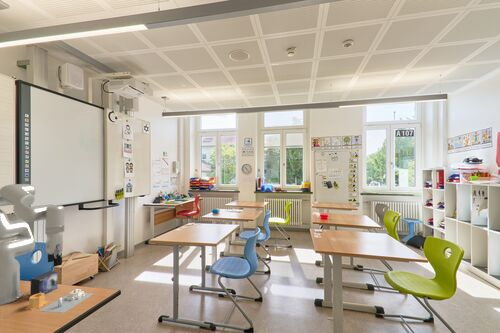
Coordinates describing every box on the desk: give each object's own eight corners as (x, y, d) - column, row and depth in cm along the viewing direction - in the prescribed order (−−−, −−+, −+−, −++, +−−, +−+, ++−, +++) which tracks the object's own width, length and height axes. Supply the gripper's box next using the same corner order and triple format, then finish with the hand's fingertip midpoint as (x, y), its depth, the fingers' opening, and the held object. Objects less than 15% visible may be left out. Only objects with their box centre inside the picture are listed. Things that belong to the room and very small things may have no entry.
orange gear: (21, 311, 116) (21, 299, 116) (38, 302, 124) (38, 291, 124) (35, 312, 115) (35, 300, 115) (51, 303, 123) (51, 292, 123)
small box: (38, 299, 128) (39, 279, 128) (29, 298, 129) (29, 278, 130) (58, 289, 138) (58, 271, 139) (49, 288, 140) (49, 270, 140)
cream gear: (63, 300, 124) (63, 294, 124) (75, 293, 131) (75, 287, 131) (75, 301, 123) (75, 295, 123) (87, 293, 130) (87, 288, 130)
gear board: (38, 313, 115) (38, 302, 115) (72, 294, 132) (72, 284, 132) (63, 315, 112) (63, 304, 113) (94, 295, 130) (94, 286, 130)
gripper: (40, 229, 123) (40, 262, 123) (50, 233, 113) (50, 269, 113) (58, 226, 129) (58, 257, 129) (69, 230, 119) (69, 264, 119)
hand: (54, 263), depth 121 cm, fingers open, 9 cm apart
